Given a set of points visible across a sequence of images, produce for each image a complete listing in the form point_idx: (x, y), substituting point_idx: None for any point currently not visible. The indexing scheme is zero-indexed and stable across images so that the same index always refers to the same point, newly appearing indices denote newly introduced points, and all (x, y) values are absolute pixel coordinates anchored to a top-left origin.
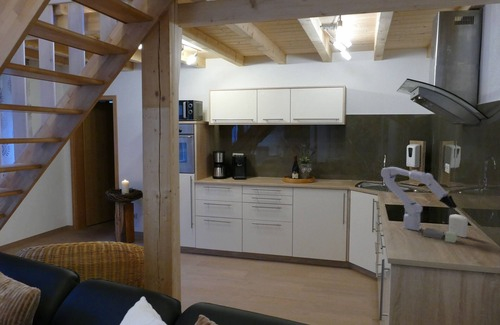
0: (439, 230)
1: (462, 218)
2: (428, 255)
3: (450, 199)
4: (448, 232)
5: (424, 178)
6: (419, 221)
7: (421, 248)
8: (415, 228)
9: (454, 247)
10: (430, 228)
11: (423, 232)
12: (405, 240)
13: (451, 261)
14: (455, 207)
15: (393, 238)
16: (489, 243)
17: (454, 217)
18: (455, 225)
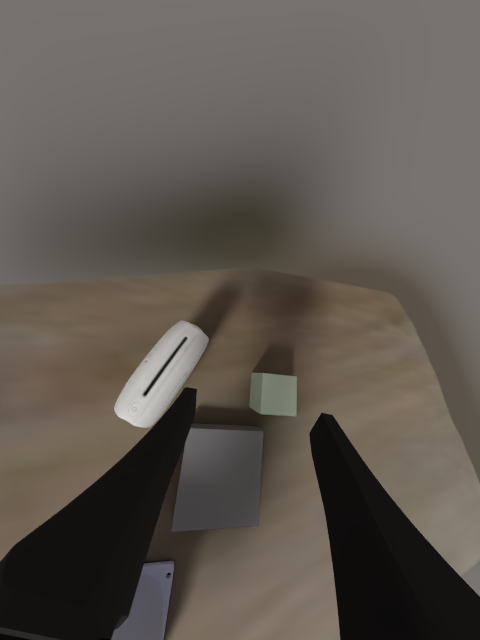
0: (199, 450)
1: (200, 346)
2: (429, 438)
3: (139, 523)
4: (285, 404)
5: None
6: (130, 628)
7: (393, 472)
8: (161, 595)
9: (327, 375)
10: (178, 504)
11: (257, 519)
12: None
13: (428, 378)
14: (195, 400)
15: None
16: (234, 277)
17: (175, 393)
18: (185, 381)
